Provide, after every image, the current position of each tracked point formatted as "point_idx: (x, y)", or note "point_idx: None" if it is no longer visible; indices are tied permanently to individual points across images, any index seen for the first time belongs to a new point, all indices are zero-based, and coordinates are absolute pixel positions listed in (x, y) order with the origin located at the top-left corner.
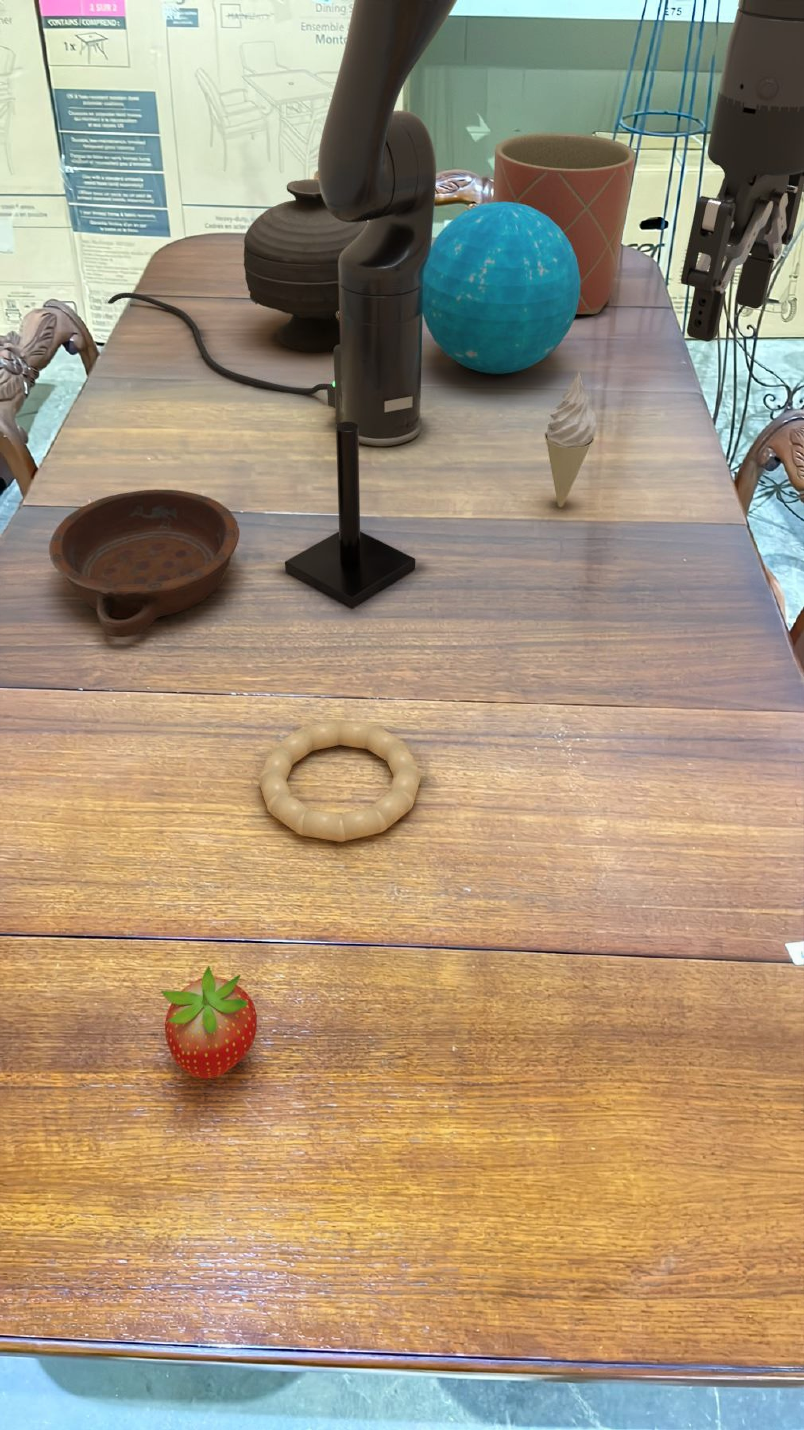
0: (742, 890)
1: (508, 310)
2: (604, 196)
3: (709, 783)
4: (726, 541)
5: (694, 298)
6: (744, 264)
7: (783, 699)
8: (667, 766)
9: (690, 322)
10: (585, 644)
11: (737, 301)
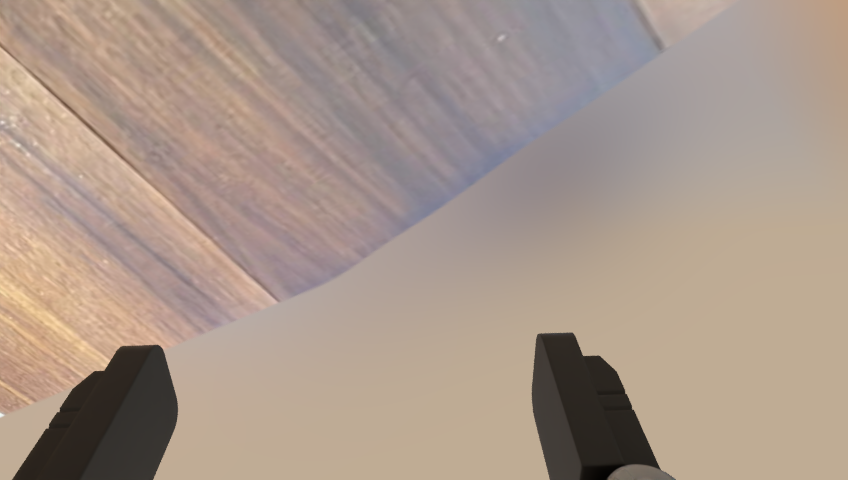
0: (11, 368)
1: None
2: None
3: (99, 289)
4: (599, 65)
5: (17, 475)
6: (573, 441)
7: (291, 287)
8: (80, 246)
9: (70, 399)
10: (182, 37)
11: (539, 337)
